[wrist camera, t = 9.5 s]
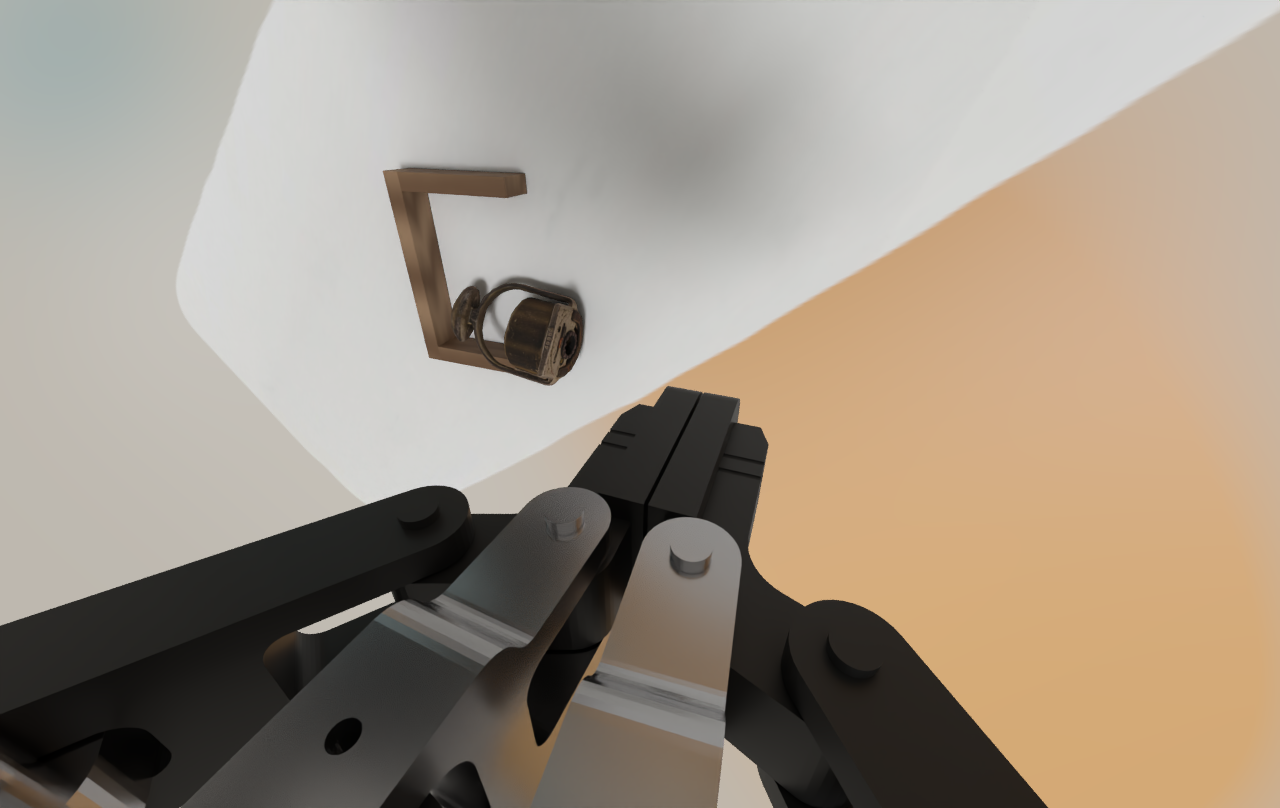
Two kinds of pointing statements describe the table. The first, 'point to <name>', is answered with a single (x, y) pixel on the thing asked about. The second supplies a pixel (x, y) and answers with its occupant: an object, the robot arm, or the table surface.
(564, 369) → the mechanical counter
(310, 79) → the table surface
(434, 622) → the robot arm
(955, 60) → the table surface
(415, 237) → the bracket
